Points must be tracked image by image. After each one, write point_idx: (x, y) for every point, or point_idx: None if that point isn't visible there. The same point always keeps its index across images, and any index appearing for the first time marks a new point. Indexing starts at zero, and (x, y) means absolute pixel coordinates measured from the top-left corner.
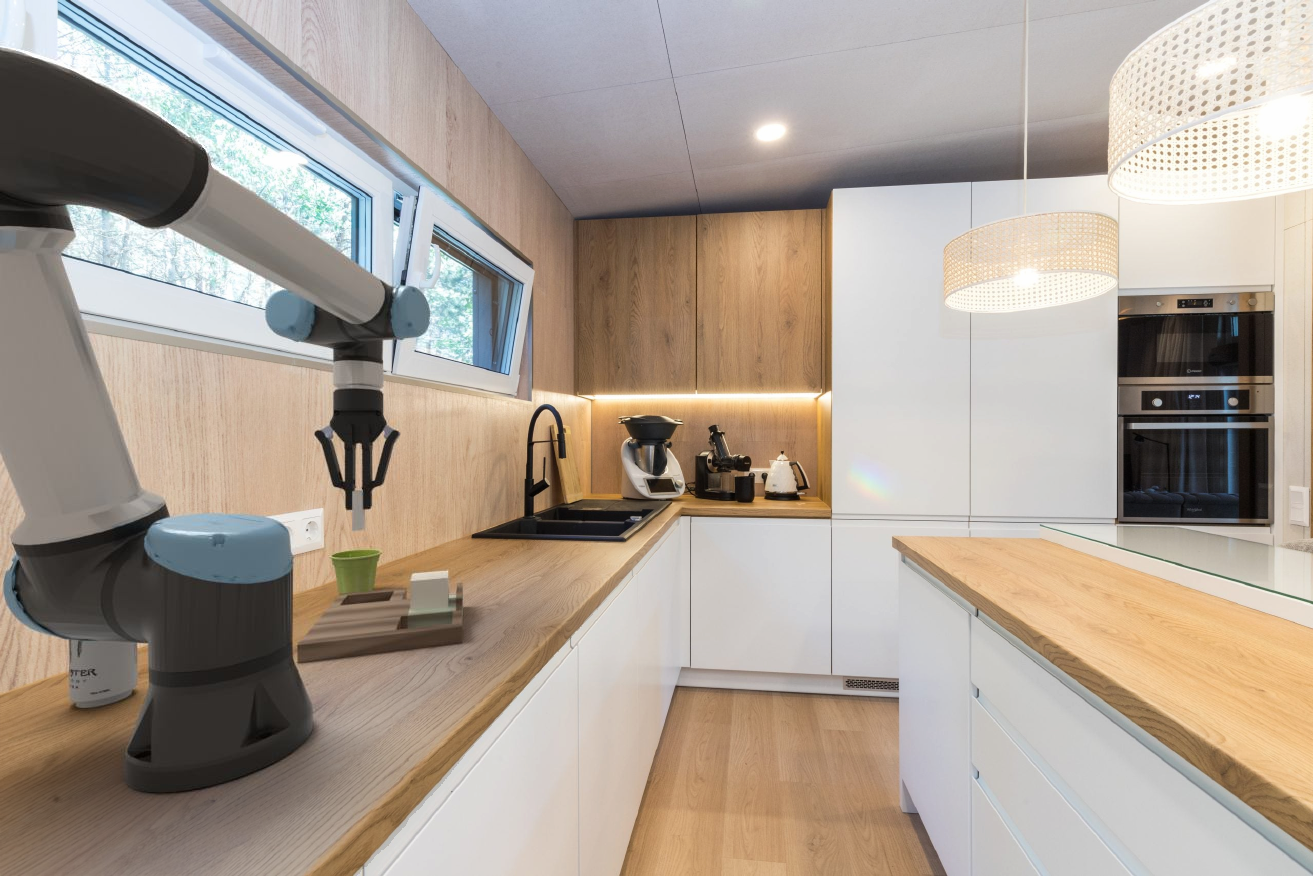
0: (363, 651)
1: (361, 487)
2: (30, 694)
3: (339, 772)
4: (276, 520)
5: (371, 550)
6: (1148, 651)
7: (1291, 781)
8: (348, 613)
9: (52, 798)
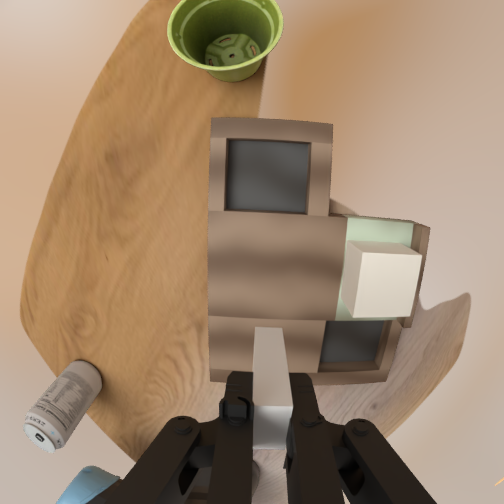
0: None
1: (283, 467)
2: (32, 334)
3: (278, 494)
4: None
5: None
6: None
7: (495, 485)
8: (247, 271)
9: None
